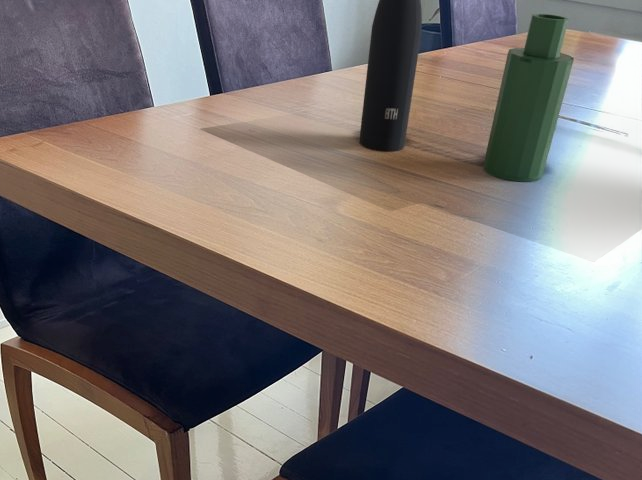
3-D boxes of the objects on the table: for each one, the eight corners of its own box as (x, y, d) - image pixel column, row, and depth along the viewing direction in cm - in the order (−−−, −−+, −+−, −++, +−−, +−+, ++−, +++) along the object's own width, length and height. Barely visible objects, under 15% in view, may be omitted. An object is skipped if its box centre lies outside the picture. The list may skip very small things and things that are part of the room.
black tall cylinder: (380, 135, 106) (414, -127, 88) (413, 147, 103) (456, -123, 84) (349, 141, 103) (377, -130, 84) (382, 154, 99) (420, -127, 81)
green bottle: (552, 173, 98) (594, 20, 87) (525, 186, 93) (567, 24, 82) (500, 158, 102) (535, 9, 90) (472, 169, 97) (505, 13, 86)
